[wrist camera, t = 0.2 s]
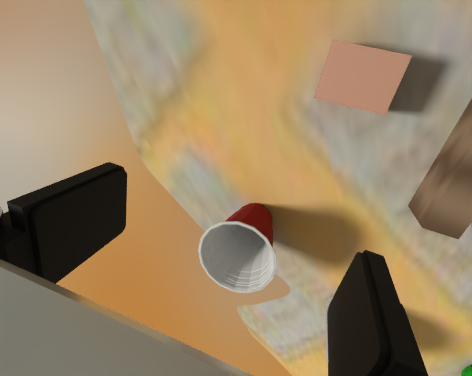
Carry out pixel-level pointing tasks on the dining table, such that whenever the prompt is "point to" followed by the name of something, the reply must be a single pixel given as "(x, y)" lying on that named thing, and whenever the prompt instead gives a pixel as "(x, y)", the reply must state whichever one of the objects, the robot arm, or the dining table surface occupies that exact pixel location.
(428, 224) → the brown blocky bar
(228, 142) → the dining table surface
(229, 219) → the plastic cup
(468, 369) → the green ball
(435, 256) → the dining table surface
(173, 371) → the robot arm
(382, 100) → the terracotta block
